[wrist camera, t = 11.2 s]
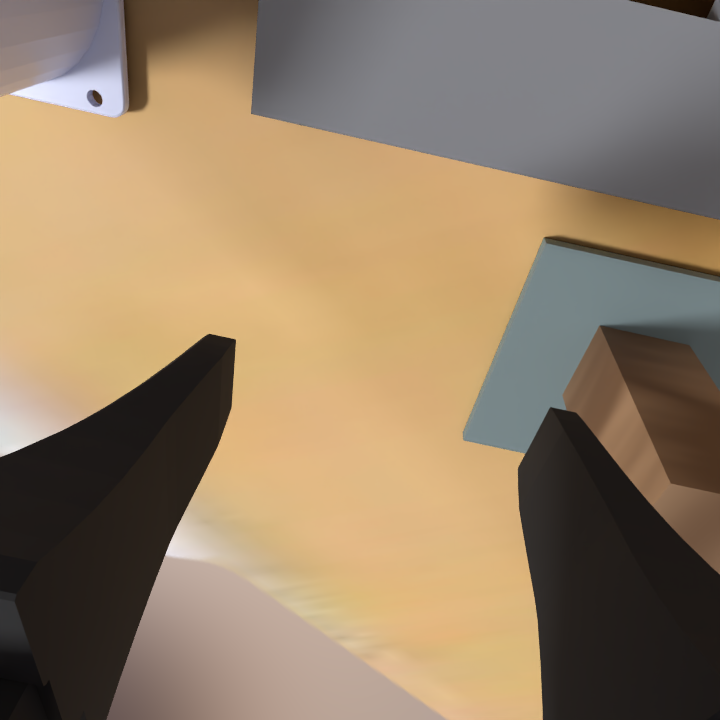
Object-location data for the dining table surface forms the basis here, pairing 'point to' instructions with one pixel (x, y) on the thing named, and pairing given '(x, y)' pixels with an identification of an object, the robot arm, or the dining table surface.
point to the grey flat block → (509, 87)
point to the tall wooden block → (656, 427)
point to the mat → (585, 331)
